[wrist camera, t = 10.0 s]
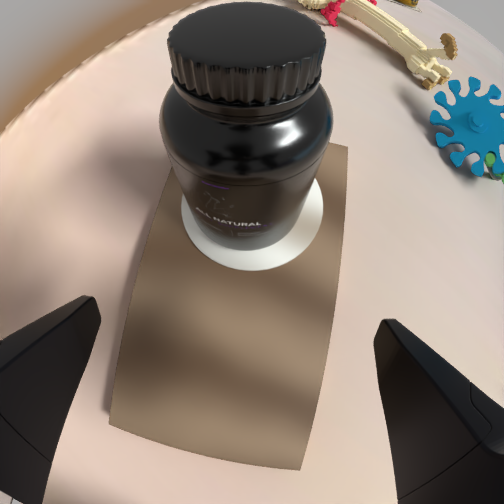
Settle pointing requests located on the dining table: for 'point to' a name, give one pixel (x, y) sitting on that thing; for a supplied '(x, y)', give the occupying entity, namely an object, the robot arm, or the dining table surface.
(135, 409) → the walnut board
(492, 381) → the dining table surface
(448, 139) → the blue lumpy piece
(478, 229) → the dining table surface
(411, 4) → the condiment
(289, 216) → the supplement bottle
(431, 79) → the cat figure
